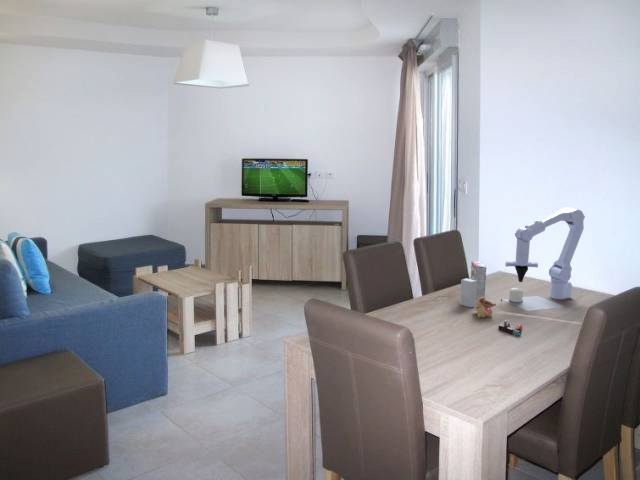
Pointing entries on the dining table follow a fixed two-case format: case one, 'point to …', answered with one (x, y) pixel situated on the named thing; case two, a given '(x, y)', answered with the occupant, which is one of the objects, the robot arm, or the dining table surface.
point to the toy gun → (510, 329)
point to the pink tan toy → (483, 307)
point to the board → (534, 303)
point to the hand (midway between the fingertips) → (520, 281)
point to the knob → (516, 294)
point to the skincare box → (468, 292)
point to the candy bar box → (479, 277)
